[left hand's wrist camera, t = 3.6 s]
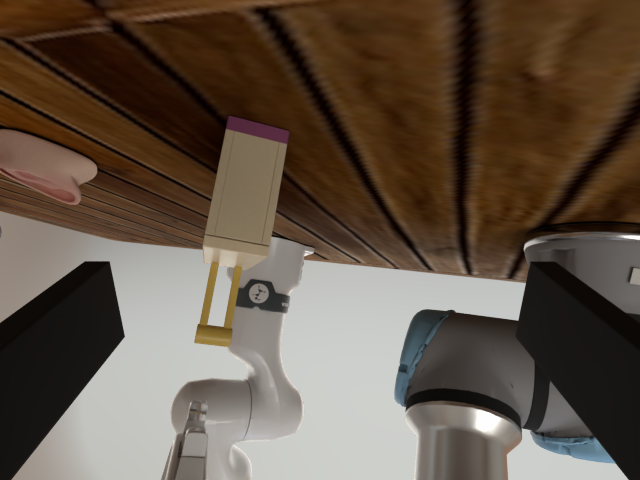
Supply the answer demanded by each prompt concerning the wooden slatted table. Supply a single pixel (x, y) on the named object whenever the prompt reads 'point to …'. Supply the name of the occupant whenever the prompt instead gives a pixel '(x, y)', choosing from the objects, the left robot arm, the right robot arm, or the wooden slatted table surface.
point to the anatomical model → (44, 165)
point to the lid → (237, 258)
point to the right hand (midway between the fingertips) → (198, 413)
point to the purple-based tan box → (247, 182)
